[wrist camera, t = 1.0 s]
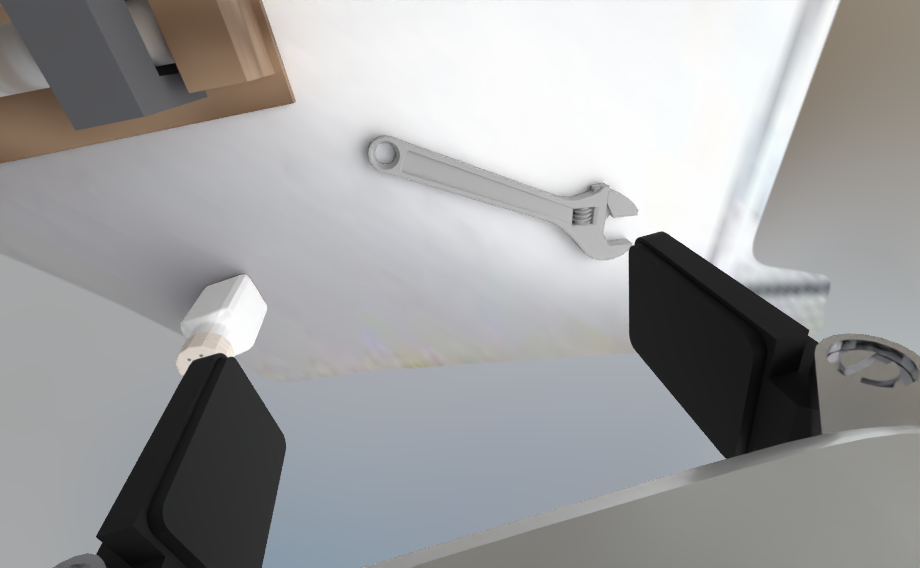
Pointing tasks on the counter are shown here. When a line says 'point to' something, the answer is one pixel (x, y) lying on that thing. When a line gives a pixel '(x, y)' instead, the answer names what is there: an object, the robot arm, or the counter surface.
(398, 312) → the counter surface
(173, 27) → the pipe stand
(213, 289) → the salt shaker
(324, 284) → the counter surface
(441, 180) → the adjustable wrench
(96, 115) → the collar
